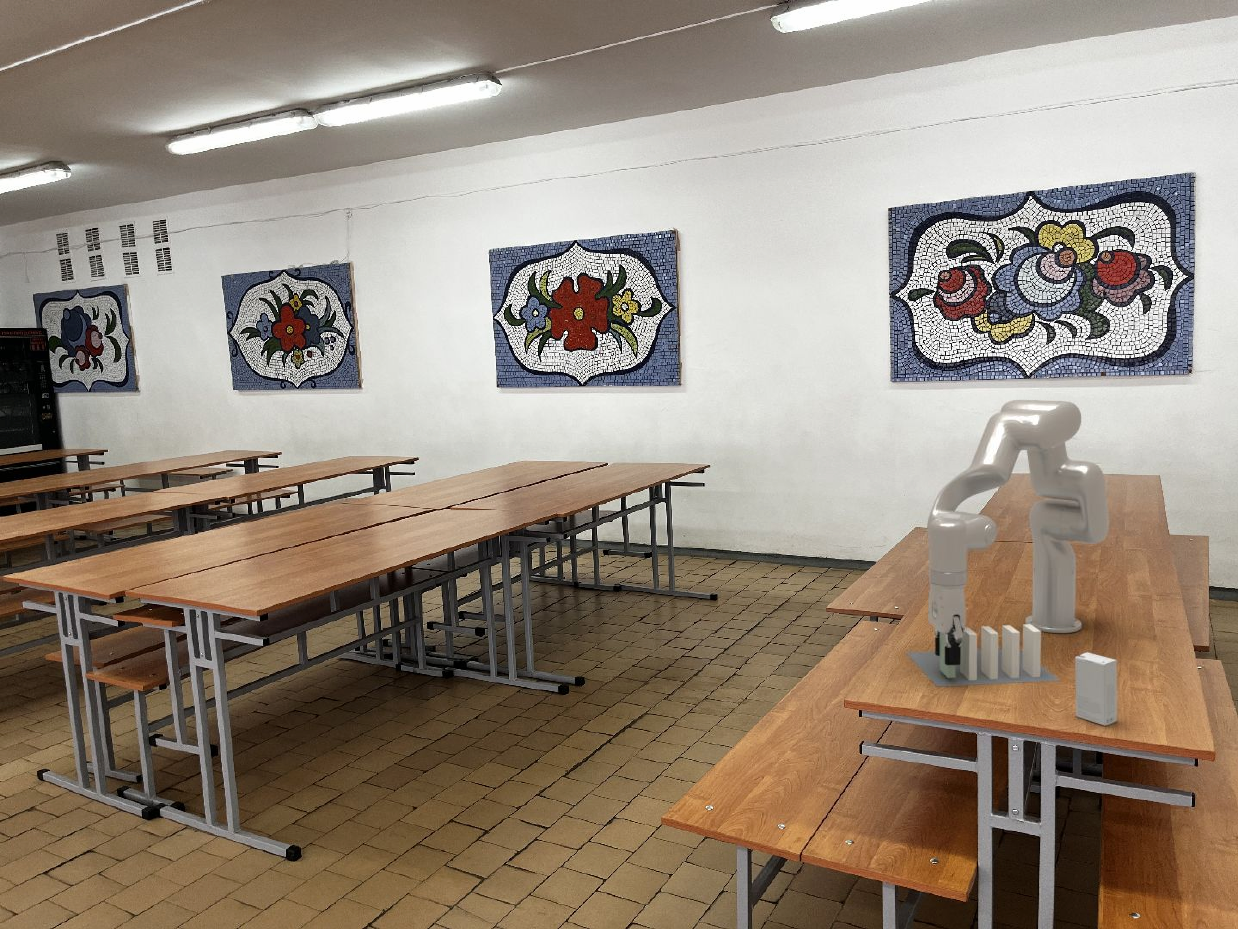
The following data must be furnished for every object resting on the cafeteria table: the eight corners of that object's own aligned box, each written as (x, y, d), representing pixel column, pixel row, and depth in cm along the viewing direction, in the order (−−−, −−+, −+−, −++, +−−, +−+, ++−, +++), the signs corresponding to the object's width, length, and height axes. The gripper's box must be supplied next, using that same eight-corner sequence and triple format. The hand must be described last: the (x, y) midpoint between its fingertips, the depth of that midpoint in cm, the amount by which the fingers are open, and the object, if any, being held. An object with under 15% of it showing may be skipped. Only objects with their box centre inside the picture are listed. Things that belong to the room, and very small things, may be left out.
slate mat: (1017, 649, 216) (1017, 647, 216) (1060, 682, 195) (1060, 680, 195) (905, 654, 216) (905, 652, 216) (936, 688, 195) (936, 686, 195)
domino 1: (967, 671, 203) (968, 627, 201) (976, 680, 198) (977, 634, 196) (960, 672, 203) (960, 627, 201) (969, 680, 198) (969, 634, 196)
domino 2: (988, 670, 203) (988, 626, 201) (997, 679, 198) (998, 633, 196) (981, 671, 203) (981, 626, 201) (990, 679, 198) (990, 633, 196)
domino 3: (1009, 669, 203) (1009, 625, 201) (1019, 678, 198) (1019, 632, 196) (1001, 670, 203) (1002, 625, 201) (1011, 678, 198) (1012, 632, 196)
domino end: (947, 669, 203) (947, 624, 201) (955, 677, 198) (955, 632, 196) (939, 669, 203) (939, 625, 201) (947, 678, 198) (947, 632, 196)
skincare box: (1118, 721, 176) (1119, 659, 174) (1104, 727, 173) (1106, 664, 172) (1086, 711, 181) (1088, 650, 179) (1073, 717, 179) (1074, 656, 177)
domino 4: (1029, 668, 203) (1030, 624, 201) (1040, 677, 198) (1041, 631, 196) (1022, 669, 203) (1023, 624, 201) (1032, 677, 198) (1033, 631, 196)
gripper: (917, 568, 206) (917, 647, 208) (944, 589, 189) (944, 675, 191) (951, 566, 206) (950, 645, 208) (981, 587, 189) (980, 673, 191)
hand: (947, 659), depth 200 cm, fingers closed on domino end, 5 cm apart
